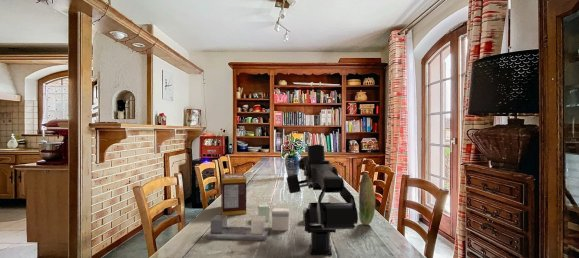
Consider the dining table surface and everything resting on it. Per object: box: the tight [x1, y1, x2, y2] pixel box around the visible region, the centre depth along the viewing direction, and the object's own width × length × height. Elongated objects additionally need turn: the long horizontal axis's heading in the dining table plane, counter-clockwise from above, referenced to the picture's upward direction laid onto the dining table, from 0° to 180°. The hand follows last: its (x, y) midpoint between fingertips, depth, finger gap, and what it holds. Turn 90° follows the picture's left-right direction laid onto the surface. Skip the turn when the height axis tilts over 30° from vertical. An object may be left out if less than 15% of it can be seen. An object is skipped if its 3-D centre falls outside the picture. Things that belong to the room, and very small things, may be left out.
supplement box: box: [220, 173, 247, 216], centre depth 133 cm, size 10×15×16 cm
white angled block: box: [328, 194, 344, 203], centre depth 120 cm, size 4×10×9 cm, turn 105°
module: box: [271, 207, 290, 232], centre depth 109 cm, size 4×6×7 cm
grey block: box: [302, 207, 308, 224], centre depth 117 cm, size 4×5×5 cm
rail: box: [206, 214, 270, 241], centre depth 102 cm, size 8×20×6 cm, turn 86°
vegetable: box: [358, 173, 376, 226], centre depth 113 cm, size 6×6×20 cm
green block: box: [257, 202, 270, 222], centre depth 119 cm, size 5×4×6 cm
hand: (310, 182), depth 114 cm, fingers open, 9 cm apart
